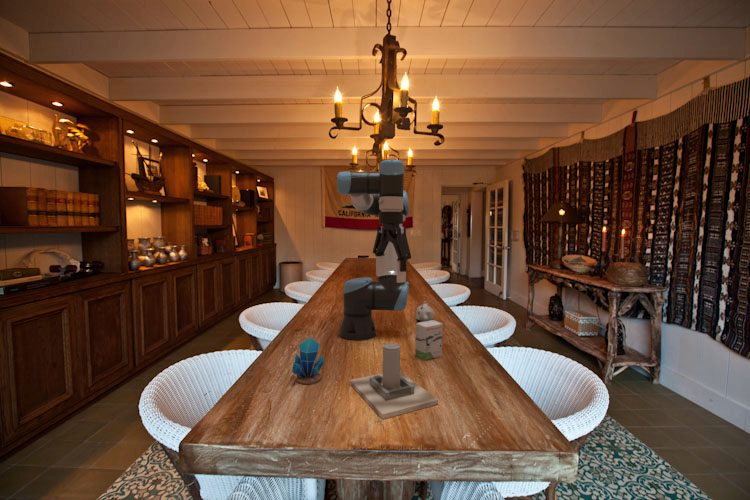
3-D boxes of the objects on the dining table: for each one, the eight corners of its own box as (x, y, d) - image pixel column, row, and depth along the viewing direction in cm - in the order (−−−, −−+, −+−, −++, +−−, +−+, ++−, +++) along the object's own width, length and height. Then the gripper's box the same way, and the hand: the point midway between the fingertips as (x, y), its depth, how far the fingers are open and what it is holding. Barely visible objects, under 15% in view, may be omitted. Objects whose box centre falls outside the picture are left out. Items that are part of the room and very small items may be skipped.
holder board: (349, 384, 100) (349, 373, 100) (398, 373, 107) (398, 363, 107) (382, 419, 82) (382, 406, 82) (437, 404, 89) (438, 392, 89)
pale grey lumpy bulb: (420, 297, 173) (426, 301, 158) (434, 306, 173) (441, 310, 158) (410, 314, 172) (415, 319, 157) (424, 323, 172) (430, 328, 157)
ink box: (424, 361, 117) (424, 326, 116) (414, 356, 121) (415, 323, 120) (442, 355, 122) (443, 322, 121) (432, 351, 126) (433, 319, 125)
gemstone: (296, 373, 106) (296, 335, 105) (324, 374, 106) (324, 335, 105) (289, 384, 99) (289, 343, 98) (320, 385, 99) (320, 344, 98)
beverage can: (381, 385, 97) (381, 343, 96) (398, 384, 97) (399, 342, 96) (383, 393, 92) (383, 349, 91) (401, 393, 92) (401, 348, 91)
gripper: (363, 211, 118) (362, 273, 119) (401, 209, 95) (400, 286, 97) (382, 212, 121) (382, 272, 123) (424, 210, 99) (422, 284, 101)
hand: (390, 278), depth 110 cm, fingers open, 13 cm apart
